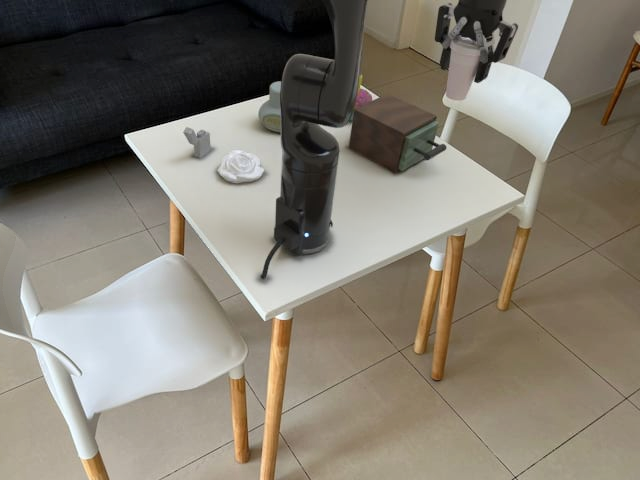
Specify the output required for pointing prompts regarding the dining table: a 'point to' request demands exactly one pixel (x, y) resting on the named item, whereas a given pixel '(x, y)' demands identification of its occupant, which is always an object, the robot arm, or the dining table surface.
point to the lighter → (198, 141)
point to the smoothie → (462, 67)
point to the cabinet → (385, 129)
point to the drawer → (420, 146)
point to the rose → (240, 167)
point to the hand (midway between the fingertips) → (461, 74)
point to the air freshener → (272, 109)
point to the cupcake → (361, 97)
